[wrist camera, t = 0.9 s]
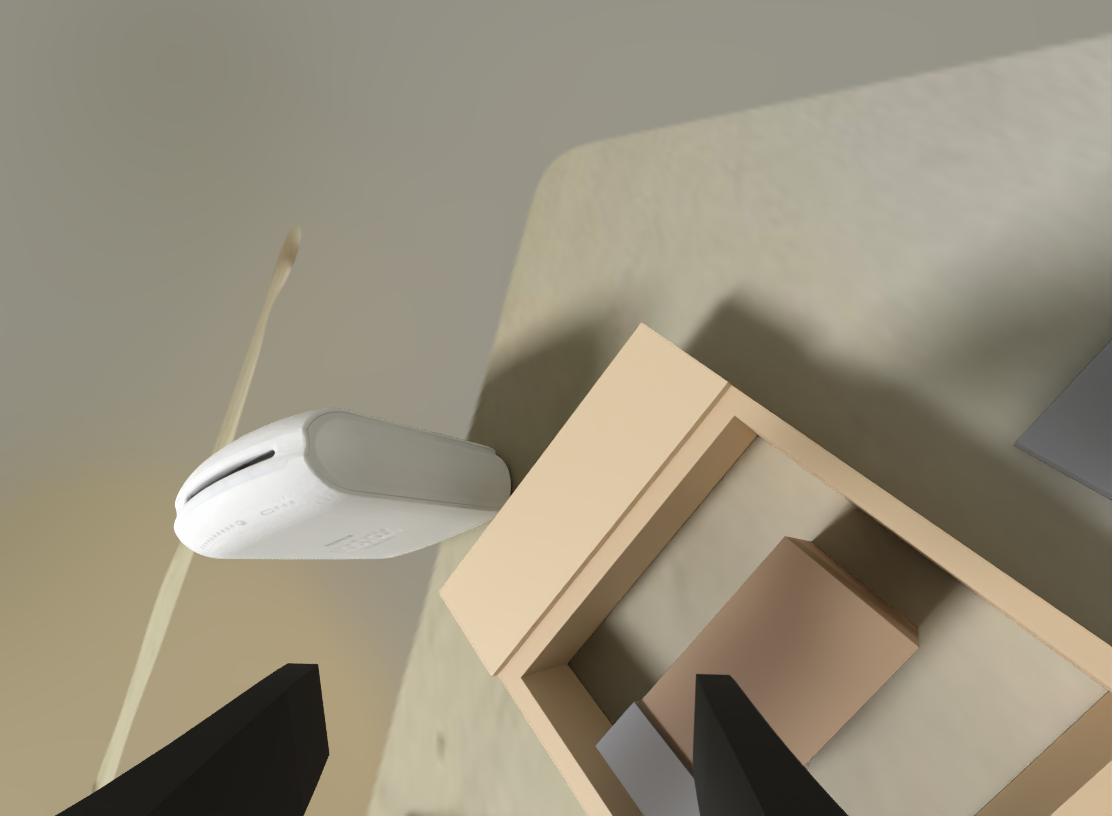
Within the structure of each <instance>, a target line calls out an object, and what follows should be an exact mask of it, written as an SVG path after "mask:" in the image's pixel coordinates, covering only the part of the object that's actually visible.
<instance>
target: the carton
mask: <svg viewBox="0 0 1112 816" xmlns="http://www.w3.org/2000/svg"><path fill="white" fill-rule="evenodd" d="M757 435H759V436H760V437H762V438H763V439H764V440H766V441H767V442H769V443H770V444H771V445H773V446H774V447H775V448H777V449H778V450H780V451H781V452H782V453H784V454H785V455H786V456H788V457H789V458H790V459H792V460H793V461H795V462H796V463H797V464H799V465H800V466H801V467H803V468H804V469H806V470H807V471H808V472H810V473H811V474H812V475H814V476H815V477H817V478H818V479H819V480H821V481H822V482H823V483H825V484H826V485H828V486H829V487H830V488H832V489H833V490H834V491H836V492H837V493H839V494H840V495H841V496H843V497H844V498H845V499H847V500H848V501H849V502H851V503H852V504H854V505H855V506H856V507H858V508H859V509H860V510H862V511H863V512H865V513H866V514H867V515H869V516H870V517H871V518H873V519H874V520H876V521H877V522H878V523H880V524H881V525H882V526H884V527H885V528H887V529H888V530H889V531H891V532H892V533H893V534H895V535H896V536H898V537H899V538H900V539H902V540H903V541H904V542H906V543H907V544H908V545H910V546H911V547H913V548H914V549H915V550H917V551H918V552H919V553H921V554H922V555H924V556H925V557H926V558H928V559H929V560H930V561H932V562H933V563H935V564H936V565H937V566H939V567H940V568H941V569H943V570H944V571H946V572H947V573H948V574H950V575H951V576H952V577H954V578H955V579H957V580H958V581H959V582H961V583H962V584H963V585H965V586H966V587H967V588H969V589H970V590H972V591H973V592H974V593H976V594H977V595H978V596H980V597H981V598H983V599H984V600H985V601H987V602H988V603H989V604H991V605H992V606H994V607H995V608H996V609H998V610H999V611H1000V612H1002V613H1003V614H1005V615H1006V616H1007V617H1009V618H1010V619H1011V620H1013V621H1014V622H1016V623H1017V624H1018V625H1020V626H1021V627H1022V628H1024V629H1025V630H1026V631H1028V632H1029V633H1031V634H1032V635H1033V636H1035V637H1036V638H1037V639H1039V640H1040V641H1042V642H1043V643H1044V644H1046V645H1047V646H1048V647H1050V648H1051V649H1053V650H1054V651H1055V652H1057V653H1058V654H1059V655H1061V656H1062V657H1064V658H1065V659H1066V660H1068V661H1069V662H1070V663H1072V664H1073V665H1075V666H1076V667H1077V668H1079V669H1080V670H1081V671H1083V672H1084V673H1085V674H1087V675H1088V676H1090V677H1091V678H1092V679H1094V680H1095V681H1096V682H1098V683H1099V684H1101V685H1102V686H1103V687H1105V688H1106V689H1107V690H1109V692H1108V693H1107V694H1105V695H1104V696H1103V697H1102V698H1101V699H1100V700H1099V701H1098V702H1097V703H1096V704H1095V705H1094V706H1093V707H1091V708H1090V709H1089V710H1088V711H1087V712H1086V713H1085V714H1084V715H1083V716H1082V717H1081V718H1080V719H1079V720H1077V721H1076V722H1075V723H1074V724H1073V725H1072V726H1071V727H1070V728H1069V729H1068V730H1067V731H1066V732H1065V733H1063V734H1062V735H1061V736H1060V737H1059V738H1058V739H1057V740H1056V741H1055V742H1054V743H1053V744H1052V745H1051V746H1049V747H1048V748H1047V749H1046V750H1045V751H1044V752H1043V753H1042V754H1041V755H1040V756H1039V757H1038V758H1037V759H1035V760H1034V761H1033V762H1032V763H1031V764H1030V765H1029V766H1028V767H1027V768H1026V769H1025V770H1024V771H1023V772H1021V773H1020V774H1019V775H1018V776H1017V777H1016V778H1015V779H1014V780H1013V781H1012V782H1011V783H1010V784H1009V785H1007V786H1006V787H1005V788H1004V789H1003V790H1002V791H1001V792H1000V793H999V794H998V795H997V796H996V797H995V798H993V799H992V800H991V801H990V802H989V803H988V804H987V805H986V806H985V807H984V808H983V809H982V810H981V811H979V812H978V813H977V814H976V815H975V816H1112V647H1111V646H1110V645H1108V644H1107V643H1105V642H1104V641H1103V640H1101V639H1100V638H1098V637H1097V636H1095V635H1094V634H1092V633H1091V632H1089V631H1088V630H1087V629H1085V628H1084V627H1082V626H1081V625H1079V624H1078V623H1076V622H1075V621H1074V620H1072V619H1071V618H1069V617H1068V616H1066V615H1065V614H1063V613H1062V612H1060V611H1059V610H1058V609H1056V608H1055V607H1053V606H1052V605H1050V604H1049V603H1047V602H1046V601H1044V600H1043V599H1042V598H1040V597H1039V596H1037V595H1036V594H1034V593H1033V592H1031V591H1030V590H1028V589H1027V588H1026V587H1024V586H1023V585H1021V584H1020V583H1018V582H1017V581H1015V580H1014V579H1012V578H1011V577H1010V576H1008V575H1007V574H1005V573H1004V572H1002V571H1001V570H999V569H998V568H996V567H995V566H994V565H992V564H991V563H989V562H988V561H986V560H985V559H983V558H982V557H981V556H979V555H978V554H976V553H975V552H973V551H972V550H970V549H969V548H967V547H966V546H965V545H963V544H962V543H960V542H959V541H957V540H956V539H954V538H953V537H951V536H950V535H949V534H947V533H946V532H944V531H943V530H941V529H940V528H938V527H937V526H935V525H934V524H933V523H931V522H930V521H928V520H927V519H925V518H924V517H922V516H921V515H919V514H918V513H917V512H915V511H914V510H912V509H911V508H909V507H908V506H906V505H905V504H903V503H902V502H901V501H899V500H898V499H896V498H895V497H893V496H892V495H890V494H889V493H888V492H886V491H885V490H883V489H882V488H880V487H879V486H877V485H876V484H874V483H873V482H872V481H870V480H869V479H867V478H866V477H864V476H863V475H861V474H860V473H858V472H857V471H856V470H854V469H853V468H851V467H850V466H848V465H847V464H845V463H844V462H842V461H841V460H840V459H838V458H837V457H835V456H834V455H832V454H831V453H829V452H828V451H826V450H825V449H824V448H822V447H821V446H819V445H818V444H816V443H815V442H813V441H812V440H810V439H809V438H808V437H806V436H805V435H803V434H802V433H800V432H799V431H797V430H796V429H795V428H793V427H792V426H790V425H789V424H787V423H786V422H784V421H783V420H781V419H780V418H779V417H777V416H776V415H774V414H773V413H771V412H770V411H768V410H767V409H765V408H764V407H763V406H761V405H760V404H758V403H757V402H755V401H754V400H752V399H751V398H749V397H748V396H747V395H745V394H744V393H742V392H741V391H739V390H738V389H736V388H735V387H733V386H732V385H731V384H730V383H729V382H728V381H726V380H725V379H723V378H722V377H720V376H719V375H717V374H716V373H714V372H713V371H712V370H710V369H709V368H707V367H706V366H704V365H703V364H701V363H700V362H698V361H697V360H696V359H694V358H693V357H691V356H690V355H688V354H687V353H685V352H684V351H682V350H681V349H679V348H678V347H677V346H675V345H674V344H672V343H671V342H669V341H668V340H666V339H665V338H663V337H662V336H661V335H659V334H658V333H656V332H655V331H653V330H652V329H650V328H649V327H647V326H646V325H645V324H643V323H641V324H640V325H639V326H638V328H637V329H636V330H635V332H634V333H633V334H632V336H631V337H630V338H629V340H628V341H627V342H626V344H625V345H624V346H623V348H622V349H621V350H620V352H619V353H618V354H617V356H616V357H615V358H614V360H613V361H612V362H611V364H610V365H609V366H608V368H607V369H606V370H605V372H604V373H603V374H602V376H601V377H600V378H599V380H598V381H597V382H596V384H595V385H594V386H593V388H592V389H591V390H590V392H589V393H588V394H587V396H586V397H585V398H584V400H583V401H582V402H581V403H580V405H579V406H578V407H577V409H576V410H575V411H574V413H573V414H572V415H571V417H570V418H569V419H568V421H567V422H566V423H565V425H564V426H563V427H562V429H561V430H560V431H559V433H558V434H557V435H556V437H555V438H554V439H553V441H552V442H551V443H550V445H549V446H548V447H547V449H546V450H545V451H544V453H543V454H542V455H541V457H540V458H539V459H538V461H537V462H536V463H535V465H534V466H533V467H532V469H531V470H530V471H529V473H528V474H527V475H526V477H525V478H524V479H523V481H522V482H521V483H520V484H519V486H518V487H517V488H516V490H515V491H514V492H513V494H512V495H511V496H510V498H509V499H508V500H507V502H506V503H505V504H504V506H503V507H502V508H501V510H500V511H499V512H498V514H497V515H496V516H495V518H494V519H493V520H492V522H491V523H490V524H489V526H488V527H487V528H486V530H485V531H484V532H483V534H482V535H481V536H480V538H479V539H478V540H477V542H476V543H475V544H474V546H473V547H472V548H471V550H470V551H469V552H468V554H467V555H466V556H465V558H464V559H463V560H462V562H461V563H460V564H459V565H458V567H457V568H456V569H455V571H454V572H453V573H452V575H451V576H450V577H449V579H448V580H447V581H446V583H445V584H444V585H443V587H442V588H441V589H440V591H439V594H440V596H441V597H442V599H443V600H444V602H445V604H446V605H447V607H448V608H449V610H450V611H451V613H452V615H453V616H454V618H455V619H456V621H457V623H458V624H459V626H460V627H461V629H462V631H463V632H464V634H465V635H466V637H467V638H468V640H469V642H470V643H471V645H472V646H473V648H474V650H475V651H476V653H477V654H478V656H479V657H480V659H481V661H482V662H483V664H484V665H485V667H486V669H487V670H488V672H489V673H490V675H491V677H492V676H495V675H498V676H499V677H500V679H501V681H502V682H503V684H504V685H505V687H506V688H507V690H508V691H509V693H510V695H511V696H512V698H513V699H514V701H515V702H516V704H517V706H518V707H519V709H520V710H521V712H522V713H523V715H524V717H525V718H526V720H527V721H528V723H529V724H530V726H531V727H532V729H533V731H534V732H535V734H536V735H537V737H538V738H539V740H540V742H541V743H542V745H543V746H544V748H545V749H546V751H547V752H548V754H549V756H550V757H551V759H552V760H553V762H554V763H555V765H556V767H557V768H558V770H559V771H560V773H561V774H562V776H563V778H564V779H565V781H566V782H567V784H568V785H569V787H570V788H571V790H572V792H573V793H574V795H575V796H576V798H577V799H578V801H579V803H580V804H581V806H582V807H583V809H584V810H585V812H586V813H587V815H588V816H644V815H643V813H642V812H641V811H640V809H639V808H638V806H637V805H636V803H635V802H634V801H633V799H632V798H631V796H630V795H629V793H628V792H627V791H626V789H625V788H624V786H623V785H622V783H621V782H620V781H619V779H618V778H617V776H616V775H615V773H614V772H613V770H612V769H611V768H610V766H609V765H608V763H607V762H606V760H605V759H604V758H603V756H602V755H601V753H600V752H599V750H598V749H597V748H596V745H597V743H598V742H599V741H600V740H601V739H602V738H603V737H604V735H605V734H606V733H607V732H608V731H609V730H610V729H611V727H612V726H613V725H612V724H611V723H610V721H609V720H608V719H607V717H606V716H605V715H604V713H603V712H602V710H601V709H600V708H599V706H598V705H597V704H596V702H595V701H594V700H593V698H592V697H591V696H590V694H589V693H588V691H587V690H586V689H585V687H584V686H583V685H582V683H581V682H580V681H579V679H578V678H577V676H576V675H575V674H574V672H573V671H572V670H571V668H570V667H569V666H568V662H569V661H570V660H571V659H572V658H573V656H574V655H575V654H576V653H577V652H578V650H579V649H580V648H581V647H582V646H583V644H584V643H585V642H586V641H587V640H588V638H589V637H590V636H591V635H592V634H593V632H594V631H595V630H596V629H597V628H598V626H599V625H600V624H601V623H602V622H603V620H604V619H605V618H606V617H607V616H608V614H609V613H610V612H611V611H612V610H613V608H614V607H615V606H616V605H617V604H618V602H619V601H620V600H621V599H622V598H623V596H624V595H625V594H626V593H627V592H628V590H629V589H630V588H631V587H632V586H633V584H634V583H635V582H636V581H637V580H638V578H639V577H640V576H641V575H642V573H643V572H644V571H645V570H646V569H647V567H648V566H649V565H650V564H651V563H652V561H653V560H654V559H655V558H656V557H657V555H658V554H659V553H660V552H661V551H662V549H663V548H664V547H665V546H666V545H667V543H668V542H669V541H670V540H671V539H672V537H673V536H674V535H675V534H676V533H677V531H678V530H679V529H680V528H681V527H682V525H683V524H684V523H685V522H686V521H687V519H688V518H689V517H690V516H691V515H692V513H693V512H694V511H695V510H696V509H697V507H698V506H699V505H700V504H701V503H702V501H703V500H704V499H705V498H706V497H707V495H708V494H709V493H710V492H711V491H712V489H713V488H714V487H715V486H716V485H717V483H718V482H719V481H720V480H721V479H722V477H723V476H724V475H725V474H726V472H727V471H728V470H729V469H730V468H731V466H732V465H733V464H734V463H735V462H736V460H737V459H738V458H739V457H740V456H741V454H742V453H743V452H744V451H745V450H746V448H747V447H748V446H749V445H750V444H751V442H752V441H753V440H754V439H755V438H756V436H757ZM608 537H609V538H608Z"/></svg>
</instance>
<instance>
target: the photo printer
mask: <svg viewBox="0 0 1112 816" xmlns="http://www.w3.org/2000/svg"><path fill="white" fill-rule="evenodd" d="M510 492H511V479H510V474H509V471H508V468H507V466H506V464H505V463H504V461H503V460H502V459H501V458H500V457H498V456H497V455H496V454H495V450H494V449H493V448H491V447H488V446H485V445H482V444H478V443H474V442H470V441H466V440H462V439H458V438H454V437H450V436H446V435H442V434H439V433H435V432H431V431H427V430H423V429H419V428H415V427H412V426H408V425H404V424H400V423H396V422H392V421H389V420H385V419H382V418H378V417H374V416H370V415H366V414H362V413H359V412H355V411H351V410H346V409H342V408H326V409H318V410H312V411H307V412H304V413H299V414H296V415H293V416H290V417H287V418H284V419H281V420H279V421H276V422H273V423H270V424H268V425H266V426H263V427H261V428H259V429H257V430H255V431H253V432H251V433H248V434H245V435H243V436H241V437H240V438H239V439H237V440H236V441H233V442H231V443H230V444H228V445H227V446H225V447H224V448H222V449H221V450H219V451H218V452H216V453H215V454H214V455H212V456H211V457H210V458H208V459H207V460H206V461H204V462H203V463H202V464H201V465H200V466H199V467H198V468H197V469H196V470H195V471H194V472H193V473H192V474H191V475H190V477H189V478H188V479H187V480H186V482H185V483H184V485H183V486H182V488H181V490H180V491H179V493H178V495H177V498H176V502H175V507H176V510H177V518H176V520H175V524H174V531H175V533H176V535H177V536H178V538H179V539H180V540H181V541H182V543H183V544H185V545H186V546H187V547H188V548H190V549H191V550H193V551H194V552H196V553H198V554H201V555H204V556H207V557H212V558H219V559H221V558H222V559H381V558H390V557H396V556H399V555H403V554H406V553H410V552H413V551H416V550H419V549H422V548H425V547H428V546H430V545H433V544H436V543H439V542H441V541H444V540H446V539H449V538H452V537H454V536H457V535H459V534H462V533H464V532H466V531H469V530H471V529H474V528H476V527H478V526H481V525H483V524H485V523H487V522H489V521H491V520H493V519H494V518H495V516H496V515H497V514H498V512H499V511H500V510H501V508H502V507H503V506H504V504H505V503H506V502H507V500H508V499H509V497H510Z"/></svg>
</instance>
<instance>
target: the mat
mask: <svg viewBox="0 0 1112 816" xmlns="http://www.w3.org/2000/svg"><path fill="white" fill-rule="evenodd" d="M1014 446H1016V447H1017V448H1019V449H1021V450H1023V451H1025V452H1026V453H1028V454H1030V455H1032V456H1034V457H1035V458H1037V459H1039V460H1041V461H1042V462H1044V463H1046V464H1048V465H1050V466H1051V467H1053V468H1055V469H1057V470H1059V471H1060V472H1062V473H1064V474H1066V475H1068V476H1069V477H1071V478H1073V479H1075V480H1076V481H1078V482H1080V483H1082V484H1084V485H1085V486H1087V487H1089V488H1091V489H1093V490H1094V491H1096V492H1098V493H1100V494H1102V495H1103V496H1105V497H1107V498H1109V499H1111V500H1112V340H1111V341H1110V342H1109V343H1108V344H1107V345H1106V346H1105V347H1104V348H1103V349H1102V350H1101V351H1100V353H1099V354H1098V355H1097V356H1096V357H1095V358H1094V359H1093V360H1092V361H1091V362H1090V363H1089V364H1088V365H1087V366H1086V367H1085V369H1084V370H1083V371H1082V372H1081V373H1080V374H1079V375H1078V376H1077V377H1076V378H1075V379H1074V380H1073V381H1072V382H1071V384H1070V385H1069V386H1068V387H1067V388H1066V389H1065V390H1064V391H1063V392H1062V393H1061V394H1060V395H1059V396H1058V397H1057V398H1056V400H1055V401H1054V402H1053V403H1052V404H1051V405H1050V406H1049V407H1048V408H1047V409H1046V410H1045V411H1044V412H1043V413H1042V415H1041V416H1040V417H1039V418H1038V419H1037V420H1036V421H1035V422H1034V423H1033V424H1032V425H1031V426H1030V427H1029V428H1028V430H1027V431H1026V432H1025V433H1024V434H1023V435H1022V436H1021V437H1020V438H1019V439H1018V440H1017V441H1016V442H1015V444H1014Z"/></svg>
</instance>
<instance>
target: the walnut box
mask: <svg viewBox="0 0 1112 816" xmlns="http://www.w3.org/2000/svg"><path fill="white" fill-rule="evenodd" d="M918 648H919V639H918V628H917V627H916V626H914V625H913V624H912V623H911V622H910V621H908V620H907V619H906V618H905V617H903V616H902V615H901V614H900V613H898V612H897V611H896V610H895V609H893V608H892V607H891V606H890V605H889V604H887V603H886V602H885V601H884V600H882V599H881V598H880V597H879V596H877V595H876V594H875V593H874V592H873V591H871V590H870V589H869V588H868V587H866V586H865V585H864V584H863V583H861V582H860V581H859V580H858V579H856V578H855V577H854V576H853V575H852V574H850V573H849V572H848V571H847V570H845V569H844V568H843V567H842V566H840V565H839V564H838V563H837V562H836V561H834V560H833V559H832V558H831V557H829V556H828V555H827V554H826V553H824V552H823V551H822V550H821V549H820V548H818V547H817V546H816V545H815V544H813V543H812V542H810V541H805V540H800V539H796V538H791V537H786V536H785V537H784V538H783V539H782V540H781V542H780V543H779V544H778V545H777V546H776V547H775V548H774V550H773V551H772V552H771V553H770V554H769V555H768V556H767V558H766V559H765V560H764V561H763V562H762V563H761V564H760V566H759V567H758V568H757V569H756V570H755V571H754V572H753V574H752V575H751V576H750V577H749V578H748V579H747V580H746V582H745V583H744V584H743V585H742V586H741V587H740V588H739V590H738V591H737V592H736V593H735V594H734V595H733V596H732V597H731V599H730V600H729V601H728V602H727V603H726V604H725V605H724V607H723V608H722V609H721V610H720V611H719V612H718V613H717V615H716V616H715V617H714V618H713V619H712V620H711V621H710V623H709V624H708V625H707V626H706V627H705V628H704V629H703V631H702V632H701V633H700V634H699V635H698V636H697V637H696V639H695V640H694V641H693V642H692V643H691V644H690V645H689V647H688V648H687V649H686V650H685V651H684V652H683V653H682V654H681V656H680V657H679V658H678V659H677V660H676V661H675V662H674V664H673V665H672V666H671V667H670V668H669V669H668V670H667V672H666V673H665V674H664V675H663V676H662V677H661V678H660V680H659V681H658V682H657V683H656V684H655V685H654V686H653V688H652V689H651V690H650V691H649V692H648V693H647V694H646V696H645V697H643V698H641V699H639V700H637V701H635V702H633V703H632V705H631V706H630V707H629V708H628V709H627V710H626V711H625V713H624V714H623V715H622V716H621V717H620V718H619V719H618V721H617V722H616V723H615V724H614V725H613V726H612V727H611V729H610V730H609V731H608V732H607V733H606V734H605V735H604V737H603V738H602V739H601V740H600V741H599V742H598V743H597V745H596V748H597V749H598V750H599V752H600V753H601V755H602V756H603V758H604V759H605V760H606V762H607V763H608V765H609V766H610V768H611V769H612V770H613V772H614V773H615V775H616V776H617V778H618V779H619V781H620V782H621V783H622V785H623V786H624V788H625V789H626V791H627V792H628V793H629V795H630V796H631V798H632V799H633V801H634V802H635V803H636V805H637V806H638V808H639V809H640V811H641V812H642V813H643V815H644V816H700V813H699V807H698V801H697V794H696V788H695V782H694V775H693V769H692V763H693V737H694V711H695V685H696V674H719V675H730V676H731V677H732V678H733V679H734V680H735V681H736V682H737V684H738V685H739V686H740V688H741V689H742V690H743V691H744V693H745V694H746V695H747V697H748V698H749V699H750V701H751V702H752V703H753V705H754V706H755V707H756V708H757V710H758V711H759V712H760V714H761V715H762V716H763V717H764V719H765V720H766V721H767V722H768V724H769V725H770V726H771V727H772V729H773V730H774V731H775V732H776V734H777V735H778V736H779V737H780V739H781V740H782V741H783V742H784V743H785V745H786V746H787V747H788V748H789V749H790V751H791V752H792V753H793V754H794V755H795V756H796V758H797V759H798V760H799V761H800V762H801V763H802V765H803V766H804V765H805V764H806V763H807V762H808V761H809V760H810V759H811V758H812V757H813V756H814V755H815V754H816V753H817V752H818V751H819V750H820V749H821V748H822V747H823V746H824V745H825V744H826V743H827V742H828V741H829V740H830V739H831V738H832V737H833V736H834V734H835V733H836V732H837V731H838V730H839V729H840V728H841V727H842V726H843V725H844V724H845V723H846V722H847V721H848V720H849V719H850V718H851V717H852V716H853V715H854V714H855V713H856V712H857V711H858V710H859V709H860V708H861V707H862V706H863V705H864V704H865V703H866V702H867V701H868V700H869V699H870V698H871V697H872V696H873V695H874V693H875V692H876V691H877V690H878V689H879V688H880V687H881V686H882V685H883V684H884V683H885V682H886V681H887V680H888V679H889V678H890V677H891V676H892V675H893V674H894V673H895V672H896V671H897V670H898V669H899V668H900V667H901V666H902V665H903V664H904V663H905V662H906V661H907V660H908V659H909V658H910V657H911V656H912V655H913V654H914V653H915V651H916V650H917V649H918Z"/></svg>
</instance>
